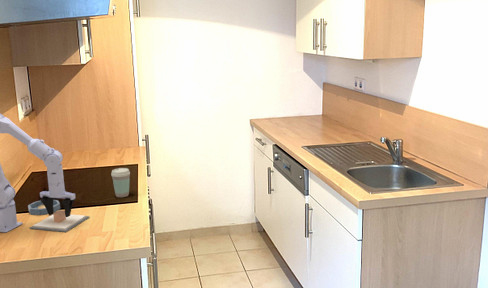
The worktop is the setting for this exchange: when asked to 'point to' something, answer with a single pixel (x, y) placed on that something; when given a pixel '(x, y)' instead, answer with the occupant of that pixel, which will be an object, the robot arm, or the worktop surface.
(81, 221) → the mat
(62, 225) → the lid
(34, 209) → the dish
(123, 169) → the coffee cup
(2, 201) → the robot arm
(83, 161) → the worktop surface
